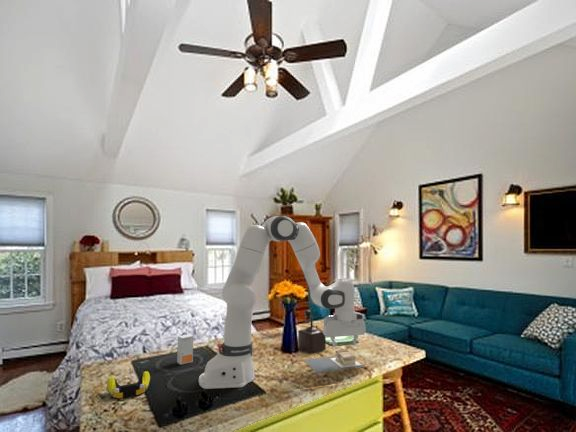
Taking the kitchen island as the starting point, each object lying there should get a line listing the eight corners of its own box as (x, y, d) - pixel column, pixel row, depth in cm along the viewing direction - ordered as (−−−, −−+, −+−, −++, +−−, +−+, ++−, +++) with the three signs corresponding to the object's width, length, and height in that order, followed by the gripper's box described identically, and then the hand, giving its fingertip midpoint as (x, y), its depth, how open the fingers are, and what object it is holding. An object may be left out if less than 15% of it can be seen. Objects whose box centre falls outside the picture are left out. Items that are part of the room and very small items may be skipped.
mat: (316, 374, 148) (316, 372, 148) (303, 361, 163) (303, 359, 163) (365, 367, 155) (365, 366, 155) (348, 355, 170) (348, 354, 170)
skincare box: (180, 365, 158) (181, 338, 158) (176, 362, 161) (177, 336, 162) (193, 362, 161) (193, 335, 162) (189, 359, 165) (189, 333, 165)
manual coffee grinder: (327, 350, 178) (327, 314, 179) (310, 354, 172) (309, 317, 173) (308, 342, 191) (308, 308, 192) (292, 345, 185) (292, 311, 186)
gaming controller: (106, 391, 132) (106, 402, 123) (107, 376, 132) (106, 386, 123) (149, 383, 138) (151, 393, 129) (149, 369, 139) (152, 378, 130)
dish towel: (338, 332, 212) (338, 327, 212) (360, 343, 191) (360, 338, 191) (312, 335, 206) (312, 330, 206) (331, 347, 184) (331, 342, 184)
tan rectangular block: (355, 364, 157) (355, 355, 157) (344, 365, 155) (344, 357, 156) (346, 357, 166) (346, 349, 166) (335, 358, 164) (335, 350, 164)
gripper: (326, 317, 155) (326, 349, 155) (367, 315, 162) (367, 346, 161) (321, 314, 161) (320, 345, 161) (360, 312, 168) (360, 342, 167)
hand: (344, 345), depth 161 cm, fingers open, 8 cm apart
